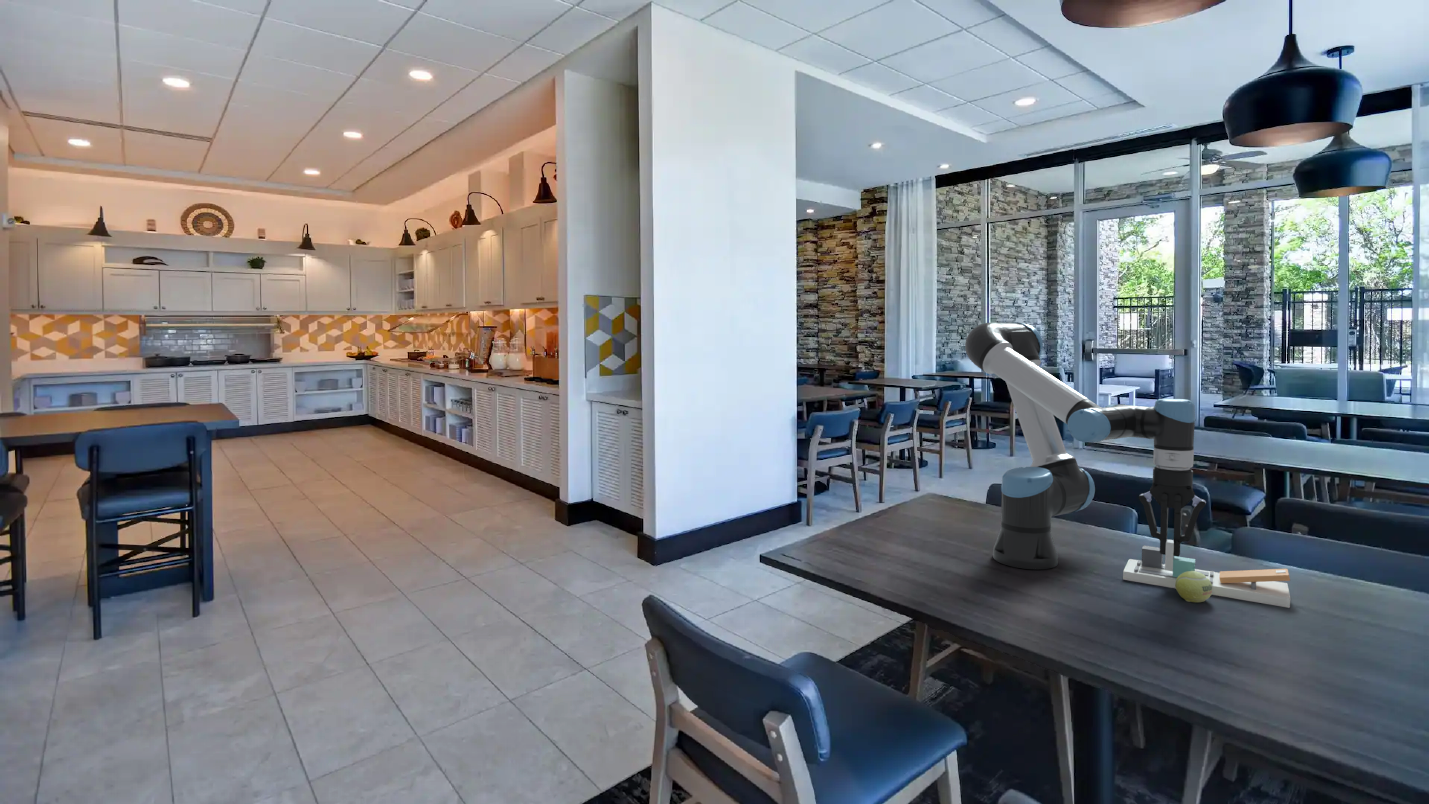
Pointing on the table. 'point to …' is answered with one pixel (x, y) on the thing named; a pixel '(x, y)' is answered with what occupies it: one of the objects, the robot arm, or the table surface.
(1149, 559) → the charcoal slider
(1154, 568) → the panel
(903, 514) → the table surface
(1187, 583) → the tennis ball
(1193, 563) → the teal slider
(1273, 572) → the tan block
